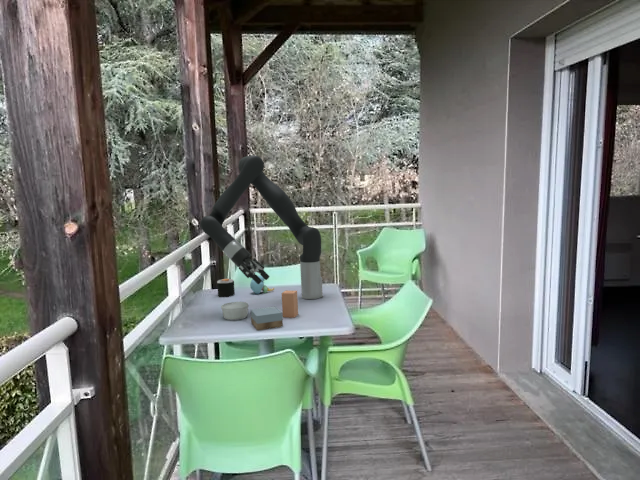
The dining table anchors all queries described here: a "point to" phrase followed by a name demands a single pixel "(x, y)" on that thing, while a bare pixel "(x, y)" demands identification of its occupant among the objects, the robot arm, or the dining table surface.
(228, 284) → the sushi
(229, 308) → the ramekin
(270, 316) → the slate top slab
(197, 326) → the dining table surface
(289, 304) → the terracotta block
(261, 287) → the toy flower bud
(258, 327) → the walnut base slab
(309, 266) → the robot arm
